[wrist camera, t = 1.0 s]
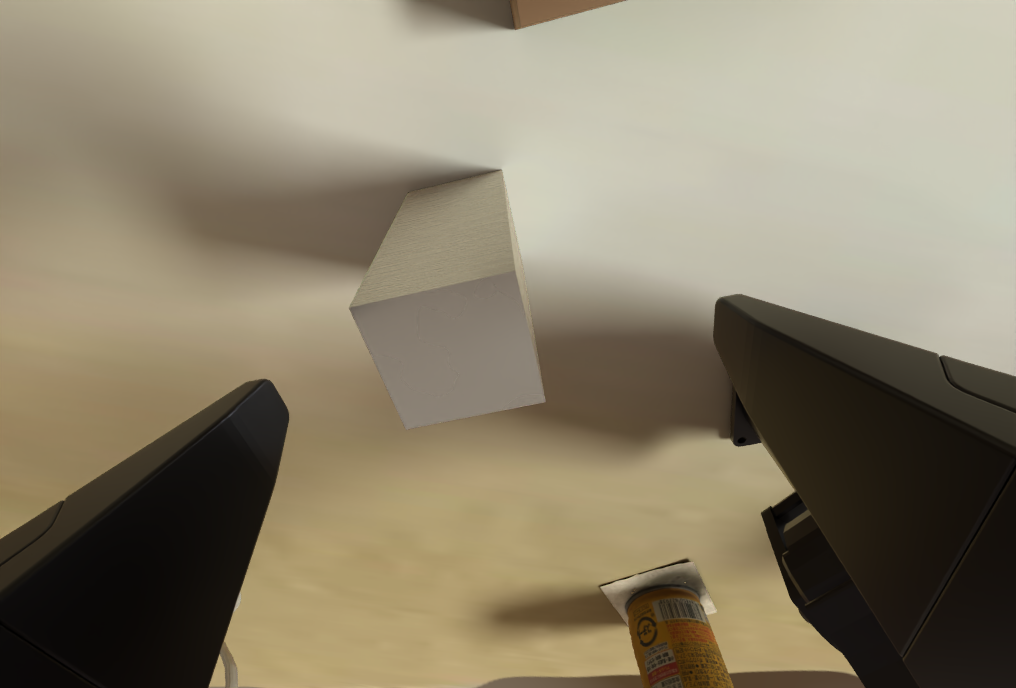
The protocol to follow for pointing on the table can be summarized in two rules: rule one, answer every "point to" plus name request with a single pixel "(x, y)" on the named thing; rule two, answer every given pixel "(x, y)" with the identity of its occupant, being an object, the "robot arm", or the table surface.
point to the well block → (550, 10)
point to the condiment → (671, 628)
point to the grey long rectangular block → (451, 306)
